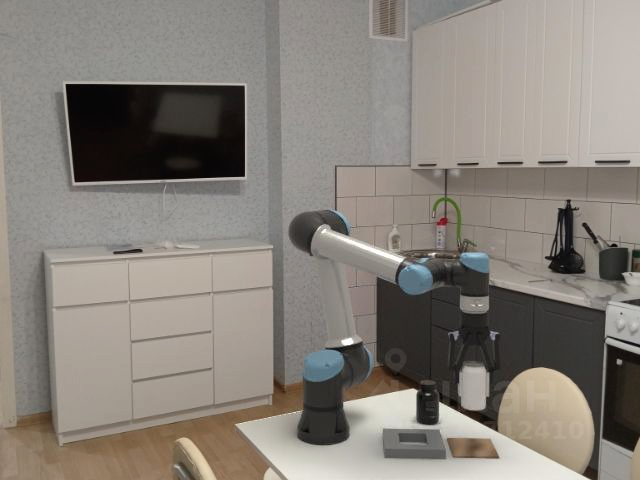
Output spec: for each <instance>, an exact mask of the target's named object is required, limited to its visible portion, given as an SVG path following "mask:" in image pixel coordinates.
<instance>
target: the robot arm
mask: <svg viewBox="0 0 640 480" xmlns="http://www.w3.org/2000/svg"><path fill="white" fill-rule="evenodd" d="M287 231H288V232H287V233H288V238H289V240H290V242H291V244H292V246H293V247H294V248H295V249H297V250H299V251H301V252H302V253H305V254H308V255H309V259H311V260H313V261H314V262H315V267H316V272H317V278H318V284H319V289H320V295H321V300H322V301H321V302H322V306H323V313H324V319H325V324H326V330H327V331H326V332H327V337H328V340H327V342H326V343H325V344H324V349H321V350H320V351H319V350H317V351H313V352H310V353H309V354H307V355H306V356H305V357H304V359H303V361H302V369H301V373H302V411H301V413H300V418H299V420H298V424H297V427H296V429H297V430H296V431H297V432H296V434H297V438H299V439H300V441H303V442H305V443H308V444H314V445H333V444H338V443H341V442H344V441H345V440H347V439H348V438H349V437H350V435H351V434H350V433H351V431H350V424H349V421H348V418H347V415H346V412H345V408H344V392H345V391H348V390H350V389H351V388H353V387H356V386H358V385H361V384H362V383H363V382H364V381H366V380H367V378H369V376H370V375H371V373H372V371H373V367H374V359H373V356H372V353H371V351H370V350H368V349H367V347H366V346H365V345H364V341H363V338H361V337H360V336H359V335H358V334H357V330H356V324H355V319H354V318H355V317H354V312H353V306H352V300H351V295H350V289H349V284H348V283H349V282H348V278H347V276H348V275H347V272H346V266H349V267H351V268H353V269H356V270H359V271H361V272H363V273H364V272H365V273H367V274H369V275H372V276H374V277H377V278H379V279H381V280H385V281H387V282H390V283H392V284H395V285H397V286H399V287H400V289H401V290H402V291H403V292H404V293H406V294H407V295H411V296H416V295H422V294H425V293H427V292H429V291H433V290H435V289H438V288H440V287H447V288H448V287H449V288H451V287H452V288H459V291H460V292H459V309H460V311H459V328H458V329H457V331H449V332H448V333H447V335H448V338H449V344H448V355H447V365H446V366H447V367H448V369H449V370H451V371H453V377H454V378H453V381H454V382H455V384H457V394H458V396H459V397H461V396H462V375H463V373H462V367H463V363H464V360H465V356H466V355H467V352H468V349H469V347H470V346H477V347H479V349H480V350H481V353H482V356H483V359H484V362H485V363H484V364H485V365H486V367H487V369H486V398H487V397H488V398H489V397H490V384H493V383H494V373H495V371H500V370H501V356H500V344H499V343H500V339H501V334H500V333H499V332H498V331H492V330H490V326H489V322H490V321H489V319H490V318H489V317H490V314H489V312H488V311H489V309H490V303H489V302H490V273H491V269H490V257H489V256H488V254H487V253H483V252H472V251H471V252H469V251H468V252H462V253H461V254H460V258H459V259H451V258H449V259H448V258H436V257H422V258H420V259H419V261H416V260H414V259H411V258H408V257H406V256H404V255H400V254H397V253H395V252H393V251H389V250H387V249H384V248H381V247H378V246H375V245H373V244H371V243H369V242H368V243H367V242H365V241H362V240H360V239H357V238H354V237H351V225H350V223H349V221H348V219H347V217H345V216H344V215H343V214H342V213H341V212H339V211H338V210H332V209H322V210H313V211H311V210H309V211H308V210H307V211H303V212H300V213H298V214H296V215H295V216H294V217H293V218H292V219H291V221H290V223H289V225H288V230H287ZM458 336H459V337H460V338H461V339H462V342H461V345H460V346H461V347H460V349H459V353H458V355H457V357H456V361H454V360H455V351H456V340H458ZM489 337H490V339H491V340H492V344H491V345H492V353H493V354H492V355H493V356H492V357H493V364H492V361H491V359H490V355H489V352H488V349H487V345H486V341H487V339H488V338H489ZM454 363H455V364H454Z"/></svg>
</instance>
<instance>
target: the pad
mask: <svg viewBox="0 0 640 480" xmlns="http://www.w3.org/2000/svg"><path fill="white" fill-rule="evenodd" d="M446 442H447V444H448V446H449V450H450V453H451V456H452V458H455V459H457V458H458V459H459V458H460V459H461V458H462V459H465V458H466V459H467V458H468V459H500V456H499V454H498V451H497V450H496V447H495V445H494V444H493V441H492V440H491V438H487V437H486V438H484V437H483V438H481V437H480V438H479V437H478V438H477V437H447V438H446Z"/></svg>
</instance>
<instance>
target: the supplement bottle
mask: <svg viewBox="0 0 640 480" xmlns="http://www.w3.org/2000/svg"><path fill="white" fill-rule="evenodd" d="M415 399H416V400H415V401H416V402H415V406H416V407H415V410H416V411H415V416H416V417H415V419H416V422H417V423H419V424H421V425H425V426H426V425H427V426H431V425H432V426H433V425H436V424H438V423H439V421H440V393H439V392H438V390H437V383H436V382H435V381H433V380H429V379H428V380H427V379H425V380H421V381H419V389H418V390H417V392H416V395H415Z"/></svg>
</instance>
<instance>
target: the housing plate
mask: <svg viewBox="0 0 640 480" xmlns="http://www.w3.org/2000/svg"><path fill="white" fill-rule="evenodd" d="M400 442H401V443H400ZM403 442H404V443H403ZM405 442H406V443H405ZM382 443H383V453H384V455H383V456H384V458H385V459H422V460H425V459H426V460H427V459H428V460H431V459H432V460H434V459H435V460H436V459H437V460H441V459H442V460H446V459H447V448H446V445H445V443H444V439H443V436H442V433H441V430H440V429H439V428H438V429H437V428H436V429H435V428H434V429H433V428H432V429H431V428H429V429H427V428H382ZM413 443H415V444H413ZM416 443H420V444H416ZM421 443H423V444H421ZM424 443H425V444H424Z"/></svg>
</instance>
